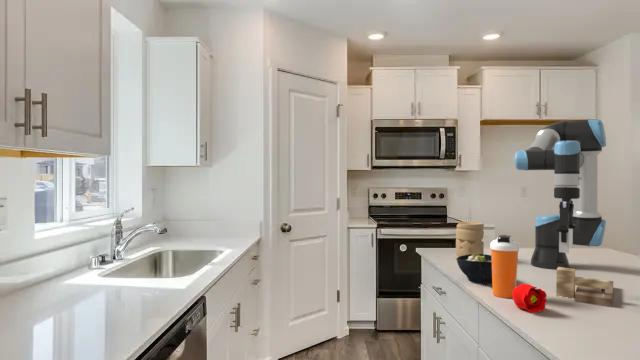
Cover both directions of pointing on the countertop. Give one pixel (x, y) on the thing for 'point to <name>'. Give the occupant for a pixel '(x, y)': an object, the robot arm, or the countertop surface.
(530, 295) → the flower
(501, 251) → the shaker bottle
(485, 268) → the bowl
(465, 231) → the container
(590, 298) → the plank
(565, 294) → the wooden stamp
